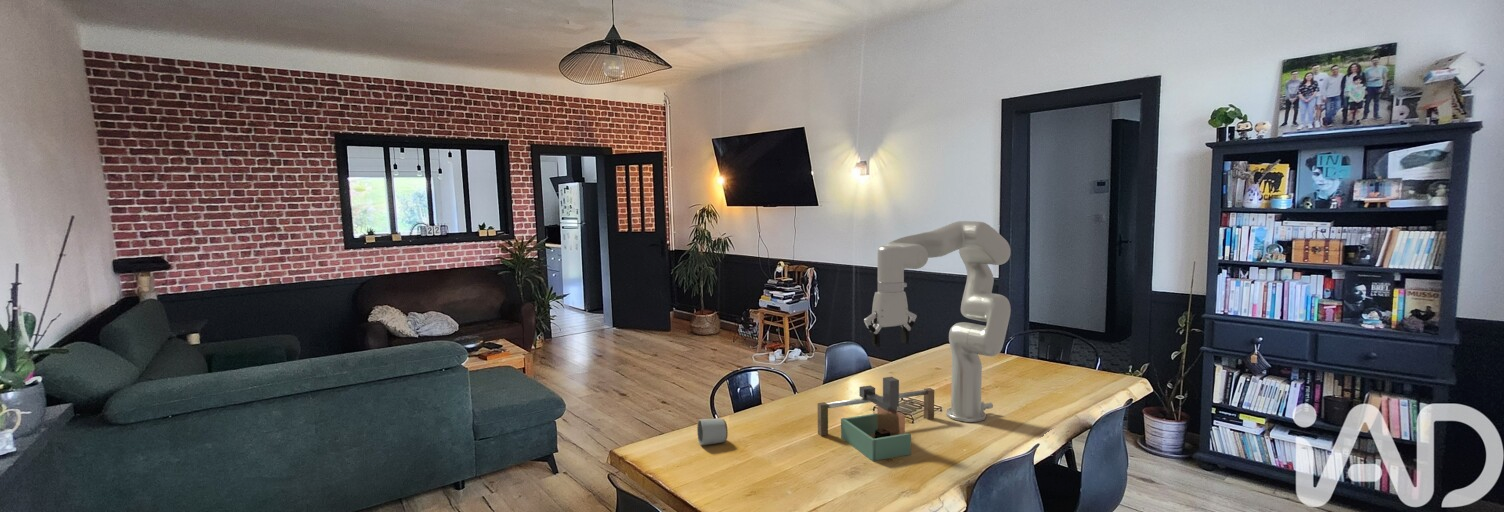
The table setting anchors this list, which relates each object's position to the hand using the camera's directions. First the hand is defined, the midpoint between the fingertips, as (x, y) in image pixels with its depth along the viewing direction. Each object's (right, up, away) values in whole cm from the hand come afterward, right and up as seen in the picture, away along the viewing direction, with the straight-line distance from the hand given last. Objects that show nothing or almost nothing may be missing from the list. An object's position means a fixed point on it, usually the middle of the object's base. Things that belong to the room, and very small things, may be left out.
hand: (890, 344), depth 190 cm
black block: (-2, -31, +2) cm, 31 cm away
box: (-4, -30, +1) cm, 31 cm away
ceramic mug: (-54, -31, +7) cm, 62 cm away
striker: (-1, -28, +7) cm, 29 cm away
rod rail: (0, -29, +17) cm, 33 cm away
